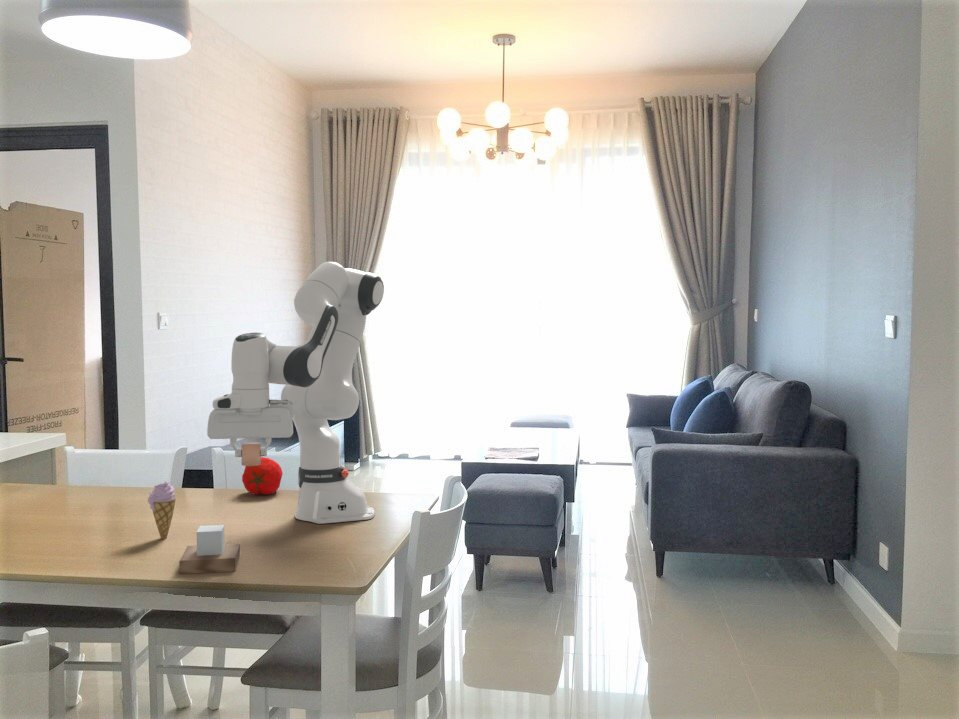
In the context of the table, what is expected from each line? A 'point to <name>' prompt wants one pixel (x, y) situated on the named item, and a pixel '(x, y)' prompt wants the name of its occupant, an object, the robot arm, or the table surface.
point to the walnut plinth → (210, 560)
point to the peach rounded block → (251, 454)
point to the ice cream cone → (162, 506)
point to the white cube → (210, 540)
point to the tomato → (262, 477)
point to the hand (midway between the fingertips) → (251, 456)
